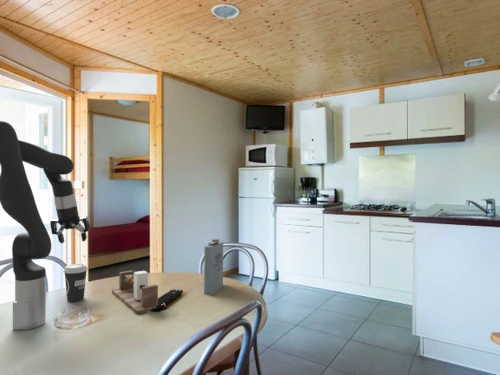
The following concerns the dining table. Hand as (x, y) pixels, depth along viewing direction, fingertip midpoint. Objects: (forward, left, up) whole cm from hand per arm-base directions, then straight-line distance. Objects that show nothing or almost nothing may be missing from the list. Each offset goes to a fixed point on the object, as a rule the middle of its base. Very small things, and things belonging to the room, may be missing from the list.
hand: (73, 241), depth 137 cm
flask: (+28, -55, -27) cm, 67 cm away
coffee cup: (+6, +3, -27) cm, 28 cm away
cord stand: (+9, -24, -27) cm, 37 cm away
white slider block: (+7, -27, -25) cm, 37 cm away
